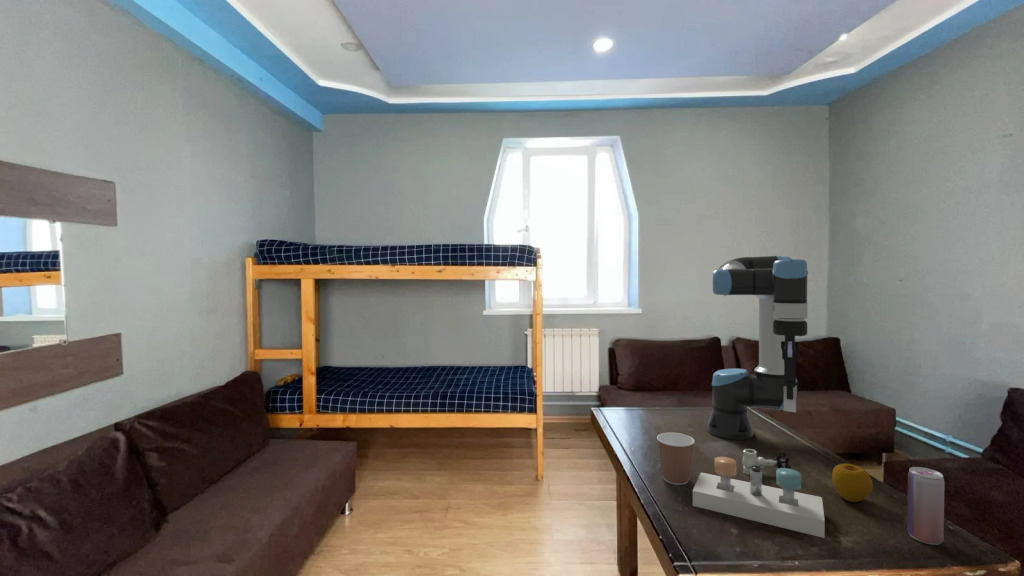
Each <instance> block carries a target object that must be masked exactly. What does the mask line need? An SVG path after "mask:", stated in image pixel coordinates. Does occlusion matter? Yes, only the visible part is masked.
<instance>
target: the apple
mask: <svg viewBox="0 0 1024 576" xmlns="http://www.w3.org/2000/svg"><path fill="white" fill-rule="evenodd" d="M831 475H832V476H831V477H832V478H831V480H832V483H833V486H834V488H835V489H836V492H837V493H838V495H839V496H840V497H841V498H843V499H844V500H846V501H848V502H852V503H858V502H861V501H863V500H865V498H867V497H868V496H869V495H870V494H871V493H872V491H873V488H874V484H873V479H872V478H871V475H870V474H869V473H868V471H867V470H865V469H864V468H862V467H860V466H858V465H855V464H851V463H840V464H837V465H835V467H834V468H833V470H832V473H831Z"/></svg>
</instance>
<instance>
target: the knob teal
mask: <svg viewBox="0 0 1024 576" xmlns="http://www.w3.org/2000/svg"><path fill="white" fill-rule="evenodd" d="M775 472H776V473H775V474H776V475H775V481H776V482H775V483H776V485H777V486H779V487H780V488H781V489H783V501H784V502H786V503H794V492H795V491H798V490H801V489H802V474H801V473H800V472H799V471H798V470H795V469H792V468H791V469H788V468H785V467H784V468H779V469H778V468H776V470H775Z"/></svg>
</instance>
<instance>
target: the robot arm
mask: <svg viewBox="0 0 1024 576" xmlns="http://www.w3.org/2000/svg"><path fill="white" fill-rule="evenodd" d="M807 262H808V261H806V260H805V259H801V258H800V259H799V258H798V259H795V258H794V259H793V258H791V257H790V256H785V255H784V256H781V255H774V256H773V255H771V256H770V255H769V256H741V257H737V258H733V259H730V260H728V261H725V262H723V263H722V264H720V266H719V267H718V269H714V270H713V271H712V292H713V294H714V295H717V296H719V295H720V296H755V297H757V299H758V322H759V323H758V365H757V366H756V367H755V368H754V369H753V370H754V372H753V373H754V374H753V373H752V374H751V373H749V372H748V370H747V369H744V368H738V367H737V368H724V369H718V370H717V371H715V372H714V373H713V374H712V382H711V386H712V411H711V413H710V416H709V418H708V422H707V431H708V432H709V433H710V434H711V435H713V436H716V437H719V438H722V439H727V440H737V441H739V440H741V441H742V440H748V439H751V438H752V437H754V429H753V426H752V422H751V421H750V417H749V415H748V414H749V413H748V408H749V407H751V408H758V409H759V408H760V409H769V410H776V411H780V410H781V411H782V410H783V411H784V412H791V413H797V392H798V386H799V385H800V384H799V382H798V379H797V376H796V373H797V372H796V370H797V368H796V367H797V366H796V365H797V364H796V361H798V359H799V357H798V356H799V354H798V353H799V352H798V351H799V350H800V342H799V341H796V337H805V336H807V335H808V322H807V321H806V319H808V318H809V317H808V315H809V314H808V313H809V312H808V311H809V310H808V309H809V308H808V306H809V305H808V304H809V303H808V275H809V271H808V263H807Z"/></svg>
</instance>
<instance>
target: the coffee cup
mask: <svg viewBox="0 0 1024 576" xmlns="http://www.w3.org/2000/svg"><path fill="white" fill-rule="evenodd" d="M656 439H657V442H658V450H659V451H658V452H659V460H660V467H661V468H660V469H661V474H662V479H663V480H664V481H665V482H667V483H668V484H672V485H675V486H676V485H679V486H681V485H687V484H688V483H689V480H690V477H691V475H690V474H691V467H692V458H693V452H694V450H693V449H694V444H695V442H696V441H695V439H694V437H692V436H690V435H687V434H684V433H679V432H663V433H658V435H657V436H656Z"/></svg>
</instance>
